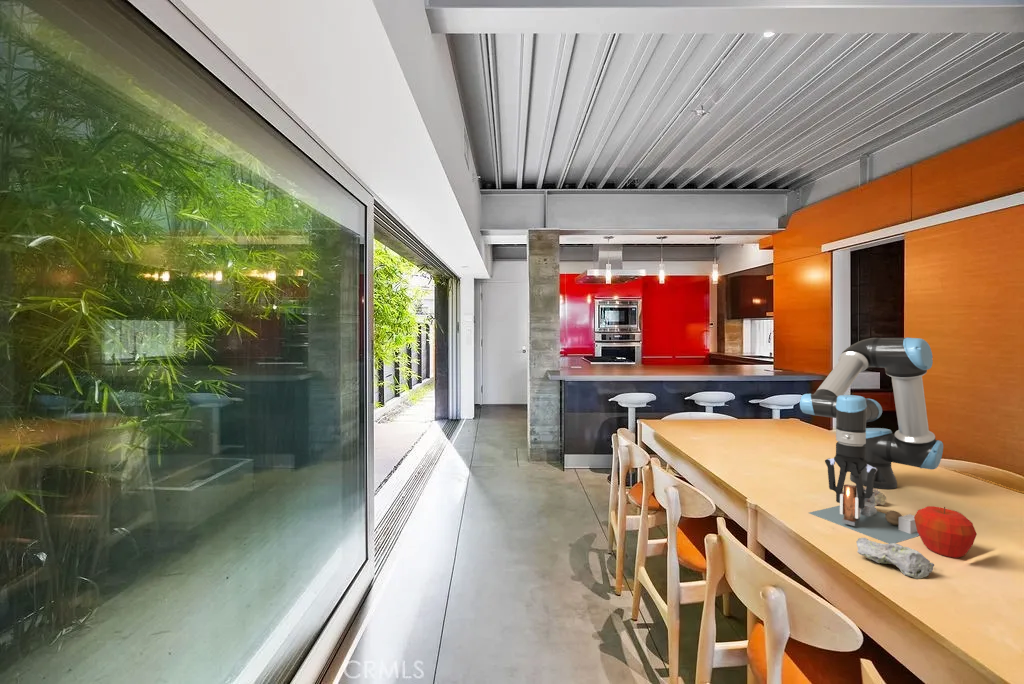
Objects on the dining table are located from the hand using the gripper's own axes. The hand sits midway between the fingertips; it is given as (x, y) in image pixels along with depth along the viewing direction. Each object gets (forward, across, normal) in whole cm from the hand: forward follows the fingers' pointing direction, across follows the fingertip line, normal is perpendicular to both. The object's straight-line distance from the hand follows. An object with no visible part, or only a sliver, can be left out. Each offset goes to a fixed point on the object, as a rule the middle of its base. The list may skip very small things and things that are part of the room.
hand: (849, 515), depth 136 cm
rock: (+5, -3, +29) cm, 29 cm away
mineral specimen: (+5, +14, -19) cm, 24 cm away
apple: (+5, +21, 0) cm, 22 cm away
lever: (+3, +1, +9) cm, 9 cm away
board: (+5, +3, +9) cm, 10 cm away
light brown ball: (+3, +9, +12) cm, 15 cm away
